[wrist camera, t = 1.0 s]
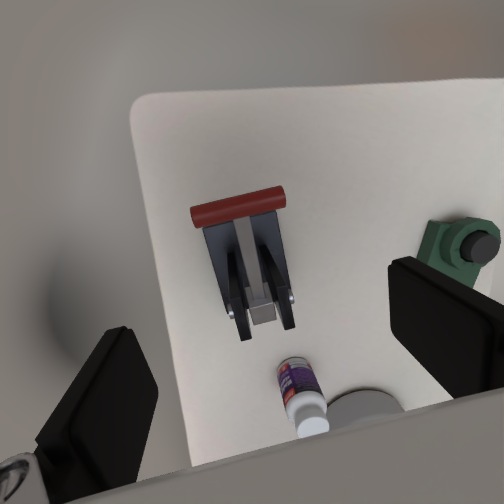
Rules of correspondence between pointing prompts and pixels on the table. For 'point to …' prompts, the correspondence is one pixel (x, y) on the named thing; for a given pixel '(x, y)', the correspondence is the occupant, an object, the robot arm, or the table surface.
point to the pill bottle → (302, 397)
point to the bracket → (234, 273)
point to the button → (479, 247)
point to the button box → (453, 247)
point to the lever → (246, 240)
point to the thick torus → (361, 408)
